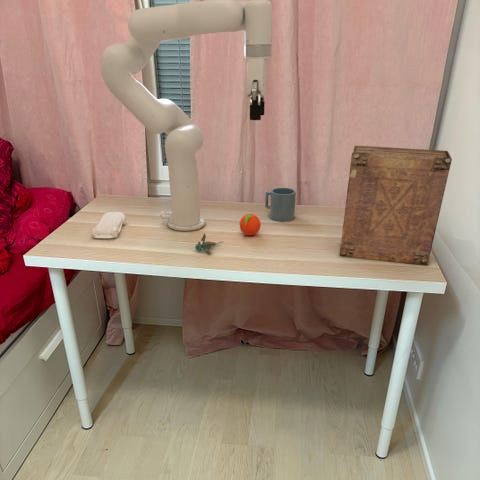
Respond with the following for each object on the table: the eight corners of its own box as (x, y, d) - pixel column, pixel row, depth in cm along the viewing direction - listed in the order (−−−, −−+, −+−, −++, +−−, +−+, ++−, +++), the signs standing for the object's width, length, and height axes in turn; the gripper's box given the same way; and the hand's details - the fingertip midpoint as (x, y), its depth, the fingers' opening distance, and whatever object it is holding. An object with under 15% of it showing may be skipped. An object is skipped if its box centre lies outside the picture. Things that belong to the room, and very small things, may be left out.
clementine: (255, 241, 153) (255, 219, 149) (235, 238, 155) (235, 217, 151) (263, 232, 159) (263, 211, 156) (243, 230, 161) (243, 209, 158)
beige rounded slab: (116, 239, 153) (114, 226, 151) (91, 239, 153) (89, 226, 151) (128, 221, 169) (126, 208, 166) (105, 220, 169) (104, 208, 167)
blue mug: (298, 216, 173) (300, 190, 168) (285, 222, 168) (286, 196, 163) (272, 209, 180) (273, 184, 175) (258, 215, 174) (258, 189, 169)
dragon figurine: (199, 238, 151) (190, 237, 144) (220, 231, 149) (212, 230, 142) (205, 258, 152) (196, 258, 144) (226, 251, 149) (218, 251, 142)
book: (338, 255, 143) (351, 151, 127) (341, 244, 150) (353, 145, 135) (427, 265, 137) (452, 157, 121) (426, 253, 144) (448, 150, 129)
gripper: (248, 51, 142) (248, 113, 151) (240, 53, 128) (240, 121, 137) (273, 51, 141) (272, 113, 150) (268, 53, 127) (266, 122, 136)
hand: (257, 117), depth 143 cm, fingers open, 9 cm apart
